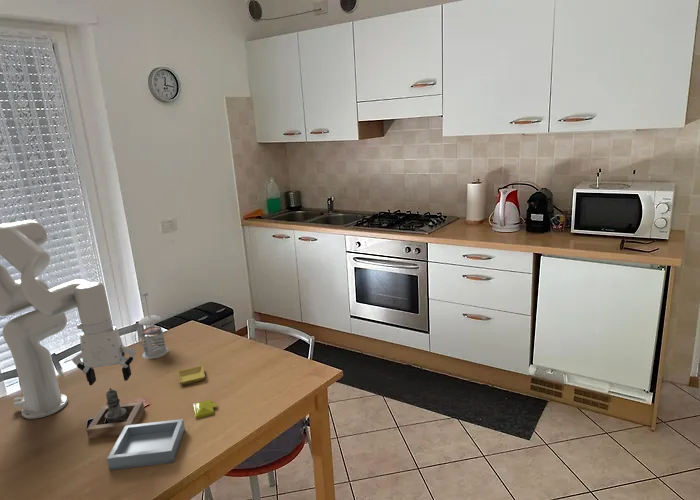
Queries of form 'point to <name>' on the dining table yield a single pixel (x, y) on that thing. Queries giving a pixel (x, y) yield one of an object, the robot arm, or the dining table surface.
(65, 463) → the dining table surface
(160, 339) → the french press
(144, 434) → the tray
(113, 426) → the hollow square frame
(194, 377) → the yellow shallow rimmed piece
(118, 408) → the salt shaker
